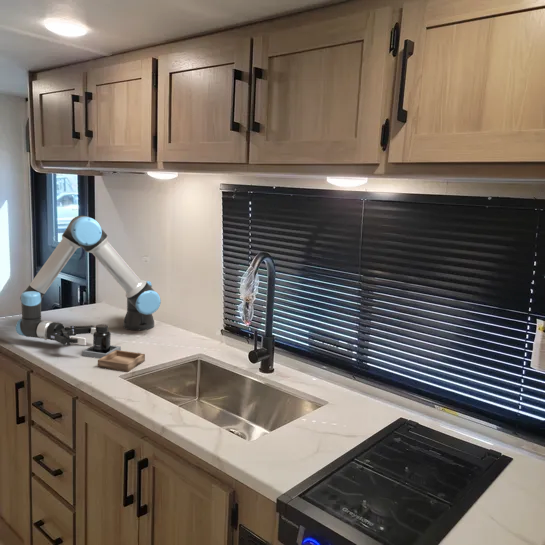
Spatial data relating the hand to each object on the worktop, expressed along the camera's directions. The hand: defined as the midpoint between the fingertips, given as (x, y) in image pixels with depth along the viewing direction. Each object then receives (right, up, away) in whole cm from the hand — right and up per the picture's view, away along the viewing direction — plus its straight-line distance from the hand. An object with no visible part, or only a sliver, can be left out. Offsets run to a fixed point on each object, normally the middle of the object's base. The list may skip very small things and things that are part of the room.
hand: (95, 337), depth 204 cm
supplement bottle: (+2, -7, +1) cm, 8 cm away
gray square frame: (+2, -7, +1) cm, 7 cm away
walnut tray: (+14, -9, -10) cm, 19 cm away
